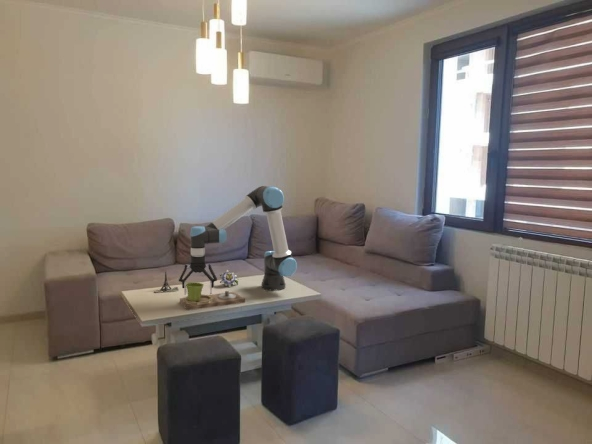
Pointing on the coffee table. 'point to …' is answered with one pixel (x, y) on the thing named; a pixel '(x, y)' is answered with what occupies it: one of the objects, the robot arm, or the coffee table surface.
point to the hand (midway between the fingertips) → (198, 293)
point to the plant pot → (194, 291)
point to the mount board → (212, 300)
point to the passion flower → (229, 278)
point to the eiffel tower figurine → (167, 286)
